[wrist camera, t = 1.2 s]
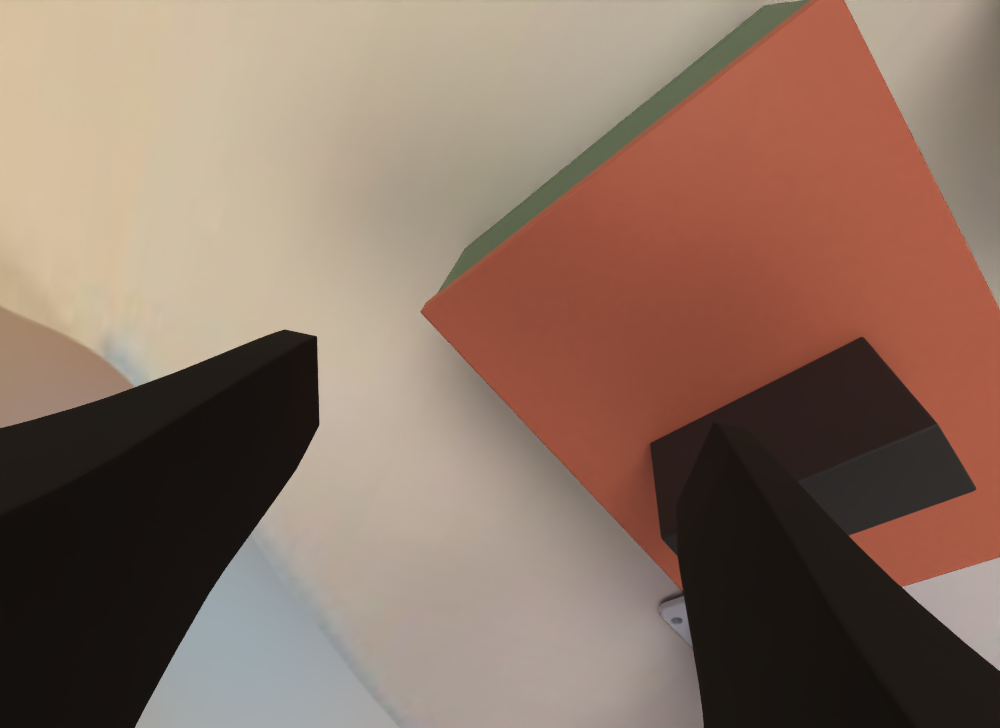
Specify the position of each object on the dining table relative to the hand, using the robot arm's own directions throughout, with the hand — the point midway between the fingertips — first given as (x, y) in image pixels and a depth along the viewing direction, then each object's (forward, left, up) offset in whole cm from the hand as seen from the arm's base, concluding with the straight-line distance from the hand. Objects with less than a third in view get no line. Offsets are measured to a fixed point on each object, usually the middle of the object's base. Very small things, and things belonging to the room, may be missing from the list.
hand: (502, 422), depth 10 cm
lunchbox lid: (-6, -3, -6) cm, 9 cm away
